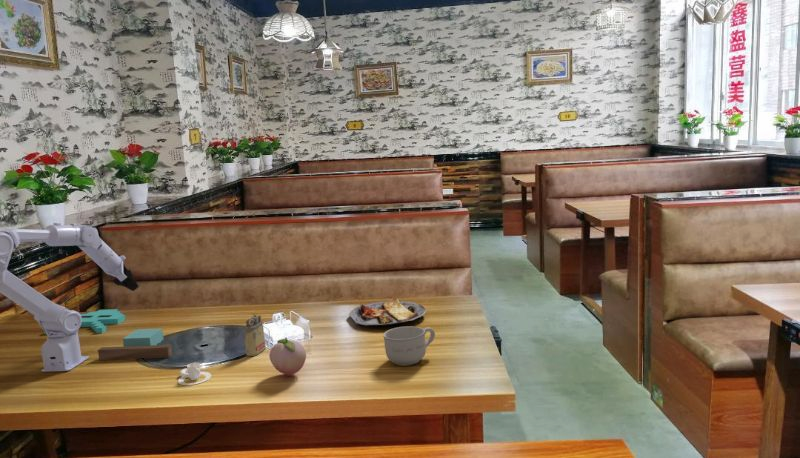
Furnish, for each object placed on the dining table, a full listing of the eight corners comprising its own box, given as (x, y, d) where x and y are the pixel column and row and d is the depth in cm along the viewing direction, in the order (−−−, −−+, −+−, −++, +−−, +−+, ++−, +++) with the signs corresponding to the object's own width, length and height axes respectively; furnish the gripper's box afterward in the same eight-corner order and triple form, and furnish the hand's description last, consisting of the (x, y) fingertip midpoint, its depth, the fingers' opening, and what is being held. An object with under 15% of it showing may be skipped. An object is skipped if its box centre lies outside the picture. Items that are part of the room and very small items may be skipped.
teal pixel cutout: (102, 334, 189) (136, 314, 209) (101, 327, 189) (135, 308, 209) (44, 335, 192) (83, 316, 211) (43, 329, 191) (82, 310, 211)
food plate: (343, 312, 197) (342, 302, 196) (409, 302, 203) (409, 292, 203) (361, 336, 173) (360, 324, 172) (435, 324, 180) (434, 313, 179)
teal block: (151, 350, 171) (149, 337, 171) (124, 351, 172) (122, 338, 171) (163, 341, 179) (162, 328, 179) (138, 341, 180) (136, 329, 179)
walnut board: (168, 357, 164) (167, 347, 164) (99, 360, 165) (97, 350, 165) (171, 354, 166) (170, 344, 166) (103, 357, 167) (101, 347, 167)
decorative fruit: (315, 374, 147) (311, 336, 145) (287, 386, 141) (283, 346, 139) (293, 365, 153) (290, 328, 152) (266, 375, 148) (262, 337, 146)
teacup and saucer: (178, 376, 152) (176, 361, 151) (210, 370, 154) (208, 355, 154) (178, 389, 144) (176, 373, 143) (212, 382, 146) (210, 367, 146)
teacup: (391, 372, 145) (389, 341, 144) (380, 357, 155) (378, 328, 154) (444, 363, 149) (442, 333, 147) (430, 349, 159) (429, 320, 158)
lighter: (254, 357, 161) (251, 322, 159) (242, 356, 162) (238, 321, 160) (268, 347, 167) (264, 313, 166) (256, 346, 169) (252, 313, 167)
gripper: (122, 257, 170) (150, 285, 179) (107, 236, 180) (134, 263, 189) (101, 273, 168) (130, 300, 178) (87, 251, 178) (116, 277, 187)
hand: (131, 282), depth 183 cm, fingers open, 7 cm apart
